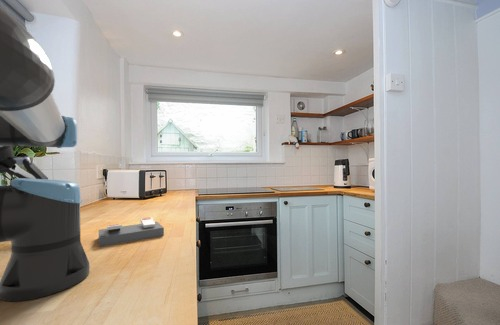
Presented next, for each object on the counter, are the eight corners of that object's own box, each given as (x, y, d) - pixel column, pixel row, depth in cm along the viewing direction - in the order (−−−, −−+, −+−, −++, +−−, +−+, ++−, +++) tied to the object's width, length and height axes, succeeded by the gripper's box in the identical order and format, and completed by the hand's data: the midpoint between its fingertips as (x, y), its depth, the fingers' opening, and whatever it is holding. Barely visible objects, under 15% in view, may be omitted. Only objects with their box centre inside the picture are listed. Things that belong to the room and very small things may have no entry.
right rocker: (155, 226, 85) (155, 223, 84) (143, 228, 82) (143, 225, 82) (151, 219, 90) (151, 216, 90) (140, 220, 88) (140, 218, 88)
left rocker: (121, 227, 78) (121, 224, 78) (108, 229, 76) (108, 226, 76) (119, 227, 84) (119, 223, 84) (107, 228, 82) (107, 225, 82)
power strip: (163, 235, 84) (163, 225, 84) (99, 247, 73) (99, 235, 73) (156, 228, 93) (156, 219, 93) (98, 238, 82) (98, 227, 82)
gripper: (55, 137, 67) (60, 191, 77) (-85, 131, 53) (-57, 198, 63) (52, 151, 62) (58, 207, 72) (-104, 148, 48) (-70, 218, 58)
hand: (4, 203), depth 67 cm, fingers open, 13 cm apart
